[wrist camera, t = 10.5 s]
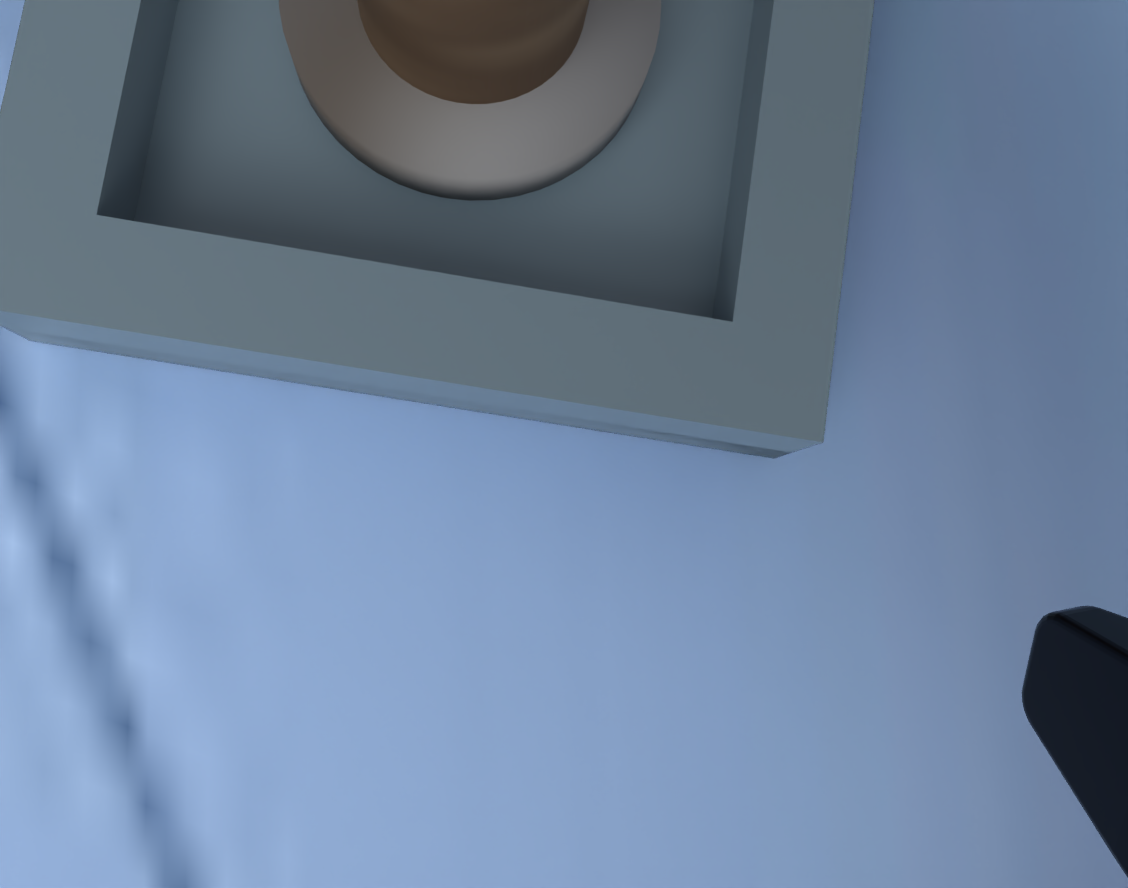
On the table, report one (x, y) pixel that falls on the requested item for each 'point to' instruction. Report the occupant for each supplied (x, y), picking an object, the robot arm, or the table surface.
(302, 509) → the table surface
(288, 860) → the table surface
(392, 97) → the wooden post on disc
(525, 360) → the tray
